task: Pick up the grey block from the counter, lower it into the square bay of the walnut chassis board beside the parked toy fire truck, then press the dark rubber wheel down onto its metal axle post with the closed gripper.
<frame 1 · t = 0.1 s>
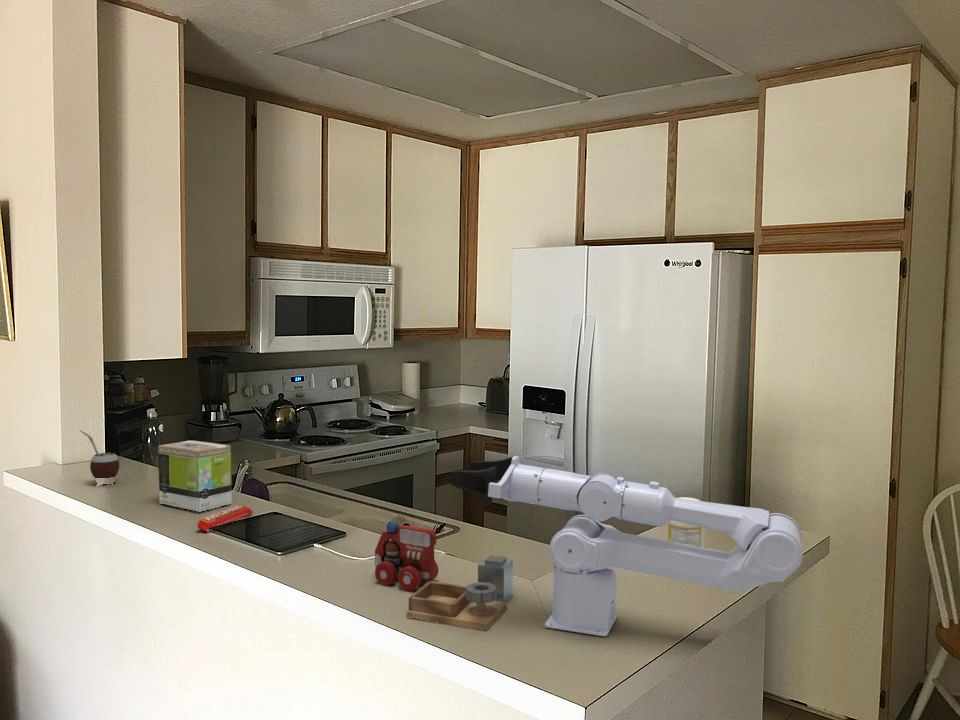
hand: (461, 473, 124), 22 cm above the counter, tool horizontal, fingers open, 7 cm apart
tea box: (195, 505, 187), on the counter
chassis board: (457, 613, 122), on the counter
supplement bottle: (685, 569, 143), on the counter
toy fire truck: (405, 583, 136), on the counter
candy bar: (225, 525, 172), on the counter
grey block: (495, 597, 129), on the counter
mate gourd: (103, 485, 207), on the counter
wheel: (481, 592, 121), point 4 cm above the counter, slide at 2.0 cm
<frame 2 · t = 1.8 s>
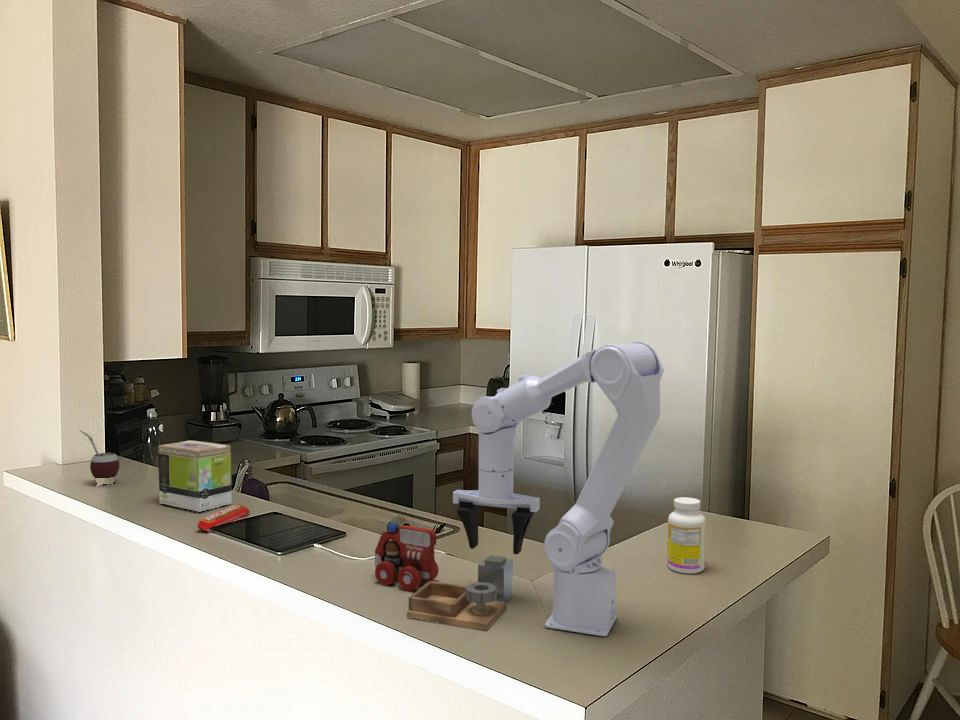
hand: (495, 549, 129), 8 cm above the counter, tool pointing down, fingers open, 7 cm apart
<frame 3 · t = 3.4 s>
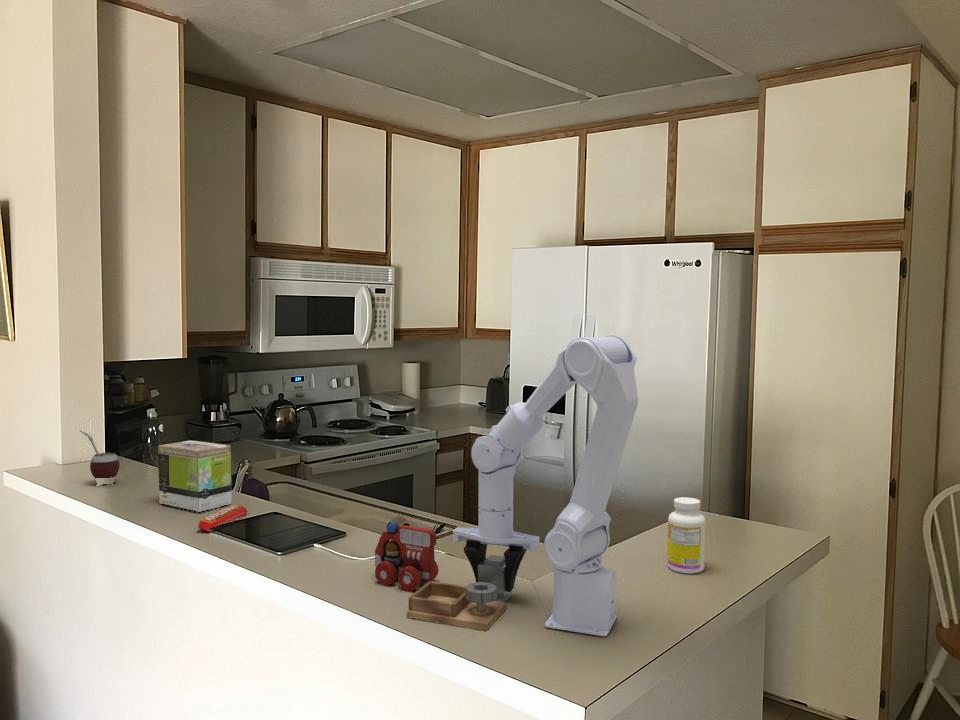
hand: (495, 587, 129), 2 cm above the counter, tool pointing down, fingers closed on grey block, 4 cm apart
grey block: (495, 597, 129), on the counter, touching gripper
everything else where it was.
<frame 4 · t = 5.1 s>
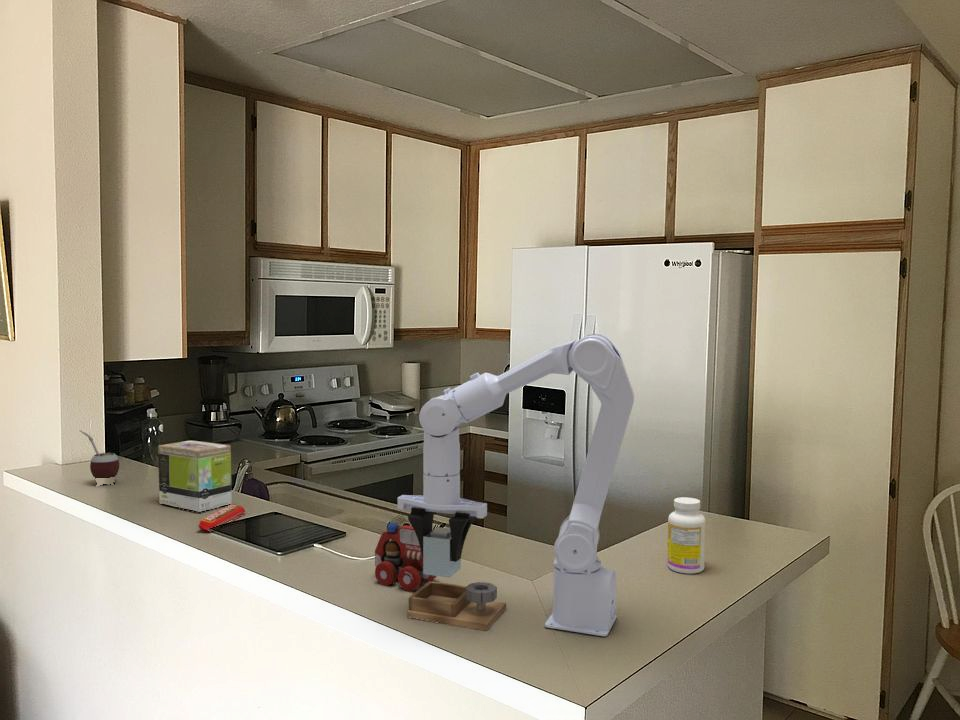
hand: (441, 557, 123), 9 cm above the counter, tool pointing down, fingers closed on grey block, 4 cm apart
grey block: (442, 571, 123), point 6 cm above the counter, touching gripper
everything else where it was.
when the fingers open (4 cm above the counter, at t = 6.7 s): grey block stays where it is, resting on chassis board.
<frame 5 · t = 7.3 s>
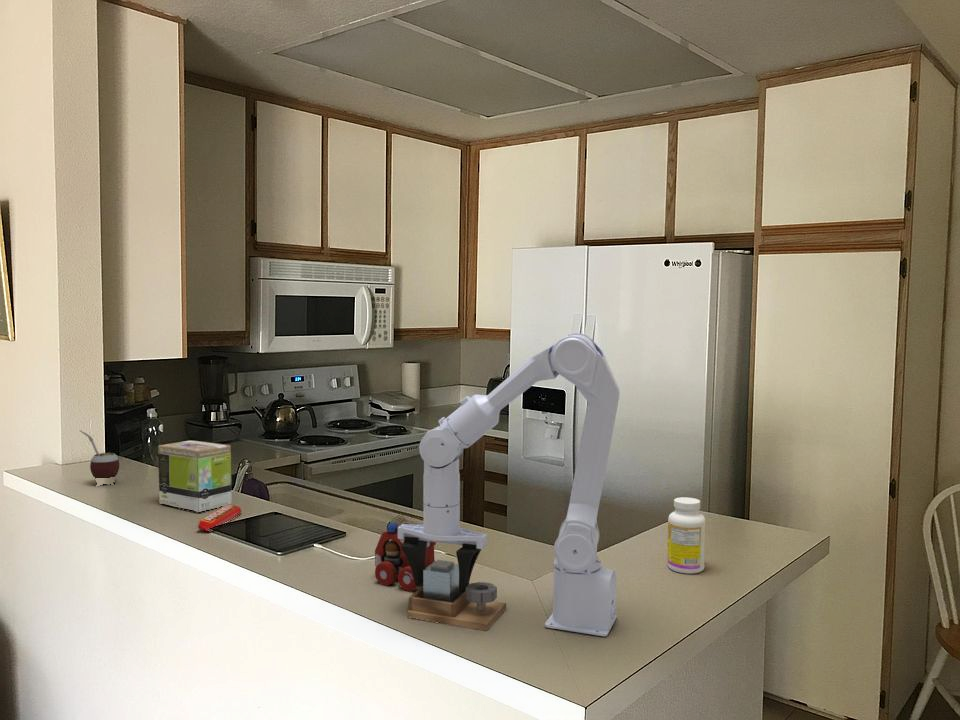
hand: (441, 587, 123), 4 cm above the counter, tool pointing down, fingers open, 7 cm apart
grey block: (442, 604, 123), point 1 cm above the counter, touching chassis board
wheel: (481, 592, 121), point 4 cm above the counter, slide at 2.0 cm, touching gripper
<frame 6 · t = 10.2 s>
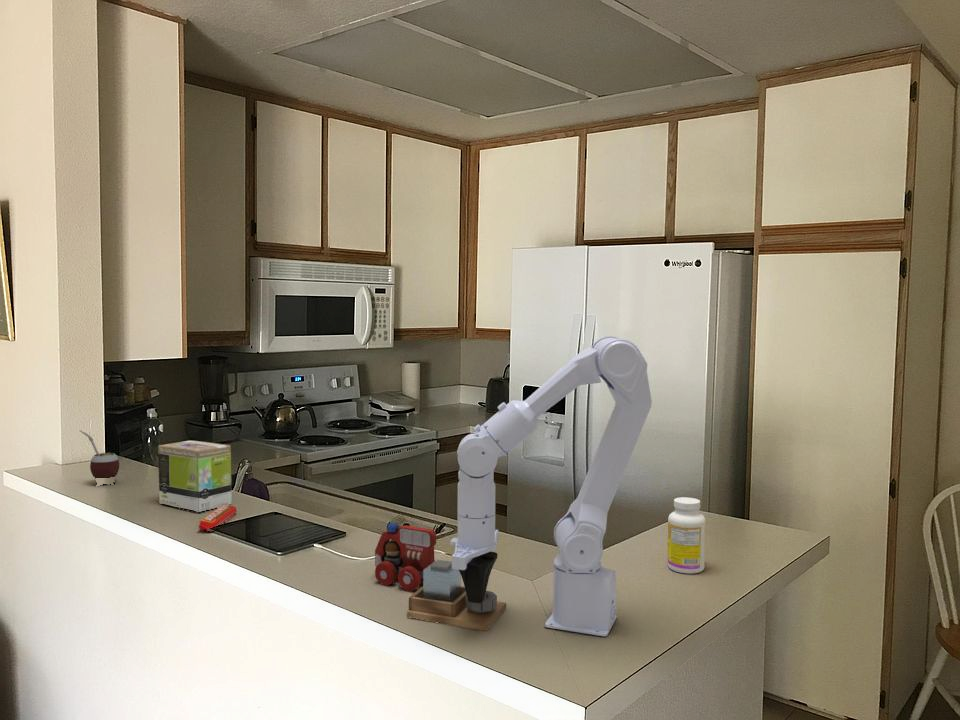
hand: (475, 601, 119), 3 cm above the counter, tool pointing down, fingers closed, pressing on wheel
wheel: (481, 600, 121), point 3 cm above the counter, slide at 0.7 cm, touching gripper
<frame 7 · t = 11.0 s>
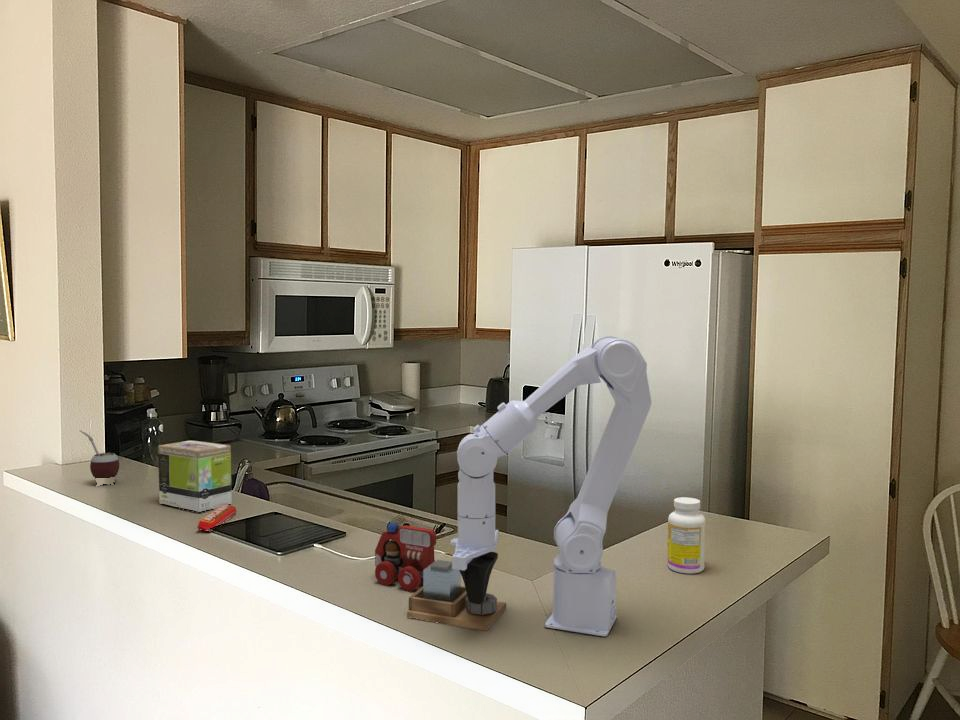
hand: (476, 601, 119), 3 cm above the counter, tool pointing down, fingers closed
wheel: (481, 603, 121), point 2 cm above the counter, slide at 0.3 cm
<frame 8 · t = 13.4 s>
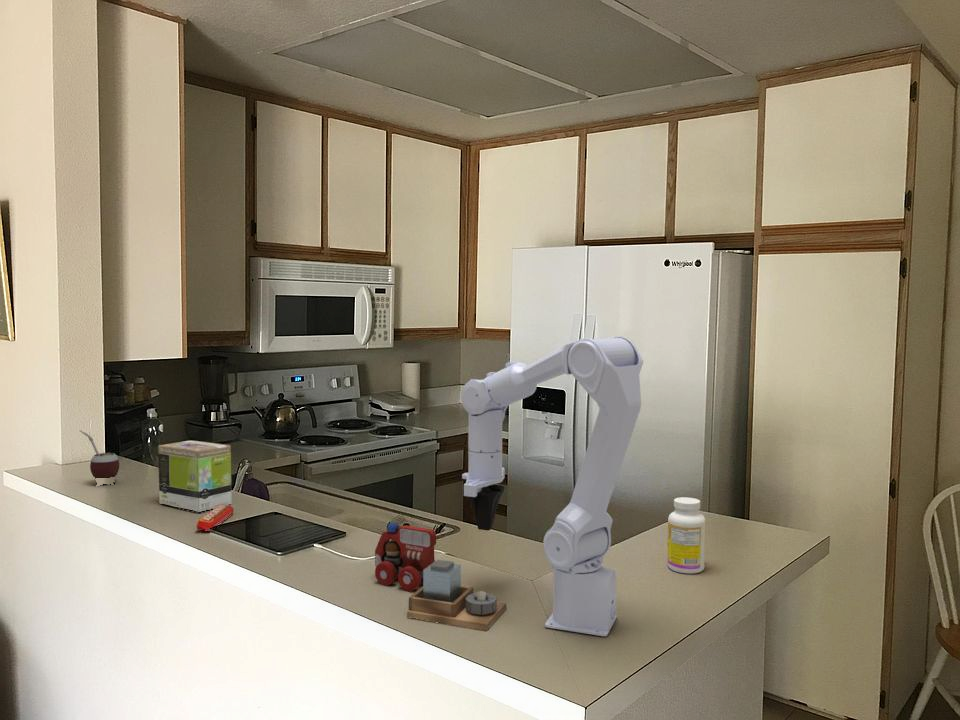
hand: (485, 528, 132), 10 cm above the counter, tool pointing down, fingers closed
at the end: grey block 0.2 cm from the target spot on the chassis board, point 1.0 cm above the chassis board's base; grey block tilted 0°; wheel slide at 0.3 cm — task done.
